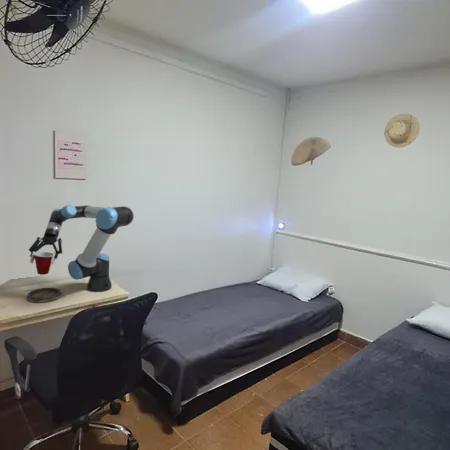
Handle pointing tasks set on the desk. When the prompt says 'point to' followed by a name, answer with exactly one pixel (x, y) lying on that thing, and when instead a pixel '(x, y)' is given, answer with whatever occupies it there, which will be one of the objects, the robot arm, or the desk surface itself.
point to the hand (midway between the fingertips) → (41, 262)
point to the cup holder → (44, 295)
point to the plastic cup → (43, 262)
